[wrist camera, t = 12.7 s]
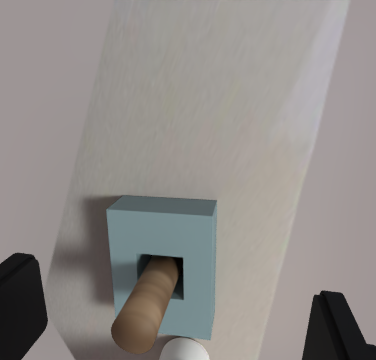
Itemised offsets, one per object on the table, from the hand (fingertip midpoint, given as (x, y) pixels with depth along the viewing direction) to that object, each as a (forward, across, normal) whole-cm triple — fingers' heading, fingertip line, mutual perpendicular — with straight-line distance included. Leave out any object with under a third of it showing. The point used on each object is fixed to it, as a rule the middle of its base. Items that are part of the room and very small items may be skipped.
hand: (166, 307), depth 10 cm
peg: (+26, +6, +15) cm, 30 cm away
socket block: (+26, +6, +15) cm, 30 cm away
